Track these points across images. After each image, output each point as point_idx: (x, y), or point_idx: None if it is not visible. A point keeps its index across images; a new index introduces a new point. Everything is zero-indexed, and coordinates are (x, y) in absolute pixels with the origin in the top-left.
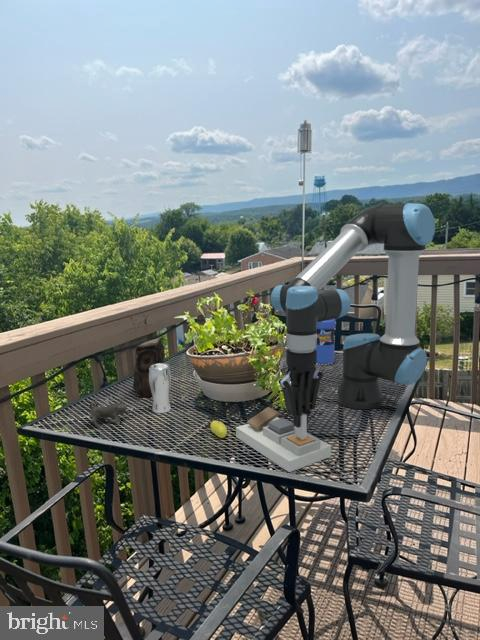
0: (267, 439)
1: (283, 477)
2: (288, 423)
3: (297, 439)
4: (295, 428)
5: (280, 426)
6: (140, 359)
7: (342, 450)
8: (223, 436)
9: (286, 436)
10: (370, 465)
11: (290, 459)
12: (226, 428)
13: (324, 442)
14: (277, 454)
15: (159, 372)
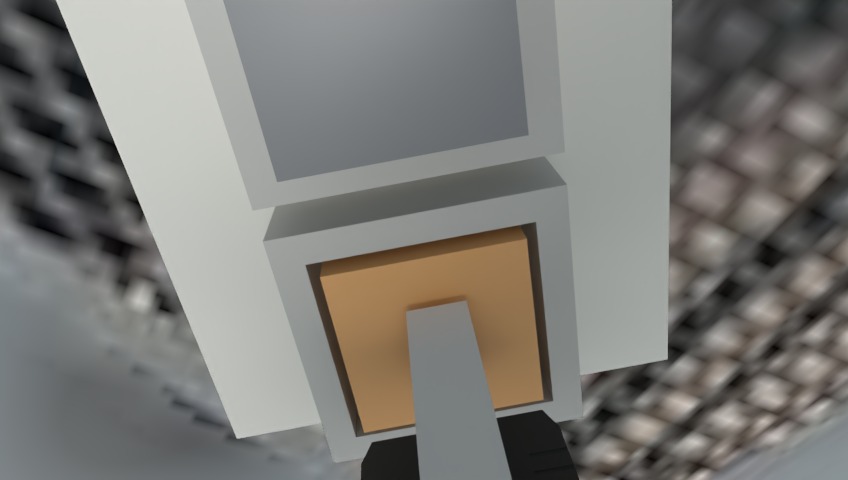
0: (187, 13)
1: (193, 410)
2: (465, 86)
3: (403, 344)
4: (412, 368)
5: (315, 124)
6: None
7: (765, 267)
8: None
9: (336, 235)
10: (746, 462)
11: (256, 421)
12: None
13: (665, 295)
14: (188, 315)
15: None
